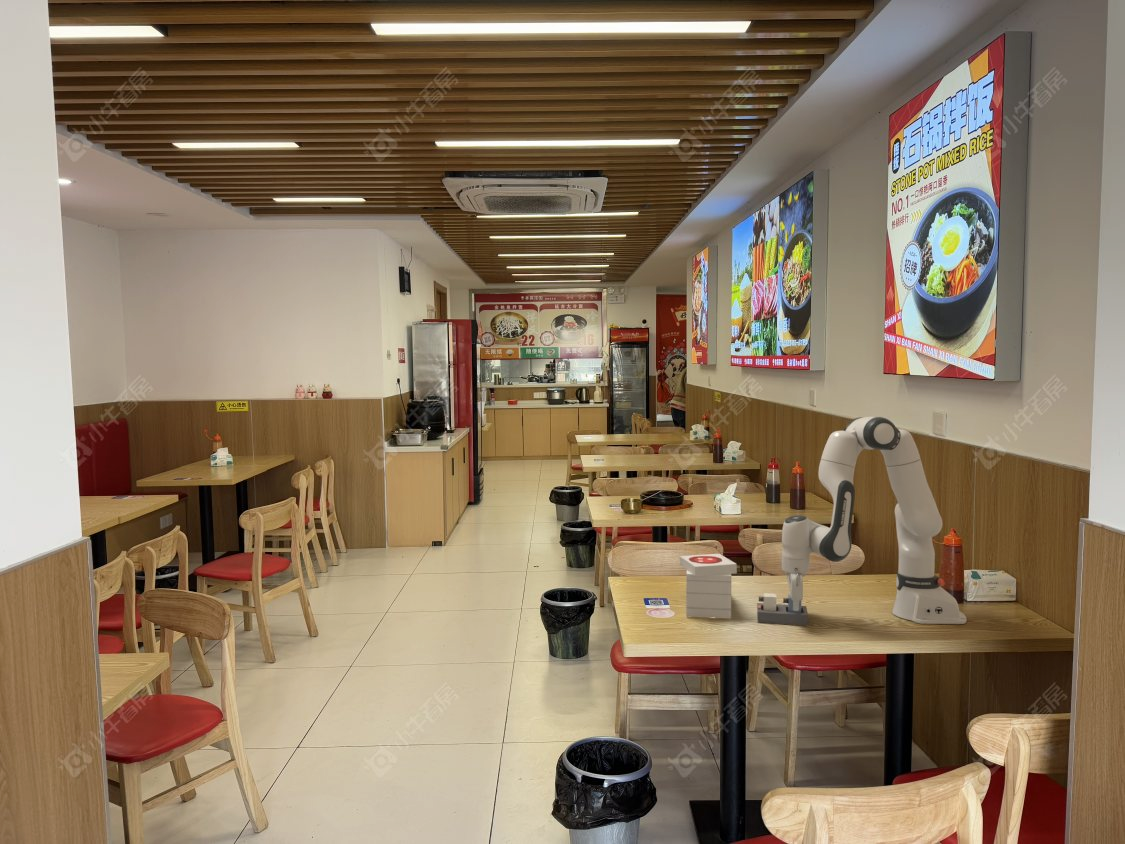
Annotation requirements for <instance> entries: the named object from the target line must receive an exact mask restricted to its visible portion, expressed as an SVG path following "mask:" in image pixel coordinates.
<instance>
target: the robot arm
mask: <svg viewBox="0 0 1125 844" xmlns="http://www.w3.org/2000/svg"><path fill="white" fill-rule="evenodd" d="M863 450H869V451H871V450H878V451H880V453H881V454H882V456H883V459H884V464H885V465H884V466H885V468H886V469H885V470H886V472H887V476H888V480H889V483H890V487H891V490H892V491H893V495H894V496H895V499H896V501H897V503H896V505H895V507H894V517H895V524H896V526H895V527H896V538H897V544H898V567H897V568H898V571H897V572H896V582H895V585H896V595H895V600H894V605H893V608H892V610H891V612H892V614H893V615H894V616H896V617H898V618H901V619H904V620H909V621H912V622H913V623H917V624H922V625H924V624H925V625H926V624H928V625H929V624H930V625H931V624H932V625H934V624H935V625H936V624H938V625H941V624H942V625H946V624H947V625H963V624H966V623H967V622H968V619H967V616H966V614H964V613H963V612H962V611H960V609H959V604H958V601H957V599H956V598H955V597H954V596H953V595H952V594H950V593H949V592H948V591H947V590H945V589H944V588H943V587H942V586H944V585H945V584H946V583H945V580H944V579H942V578H941V577H939V576H938V575H936V574H935V563H936V561H935V559H936V557H935V556H936V553H935V548H934V544H933V538H934V537H935V536H937V535H939V533H940V532H941V530H942V529H943V518H942V517H941V514H940V512H939V509H938V507H937V503H936V501H935V499H934V496H933V495H934V494H933V492H932V491H931V488H930V486H929V483H928V481H927V478H926V474H925V470H924V467H923V463H922V459H921V456H920V452H919V449H918V446H917V444H916V442H915V440H914V437H913V436H912V434H911V433H910V431H908V430H906V429H901V428H897V427H896V425H895V424H894V423H893V422H892V421H891V420H889V419H888V418H886V417H883V416H882V417H881V416H871V415H870V416H863V417H862V416H861V417H860V416H859V417H856V418H854V419H852V420H851V421H850V422H849V423H848V424H847V425H846V426H845V427H844V429H842V430H836V431H833V432H832V433H830V435H829V437H828V439H827V440H826V444H825V445H824V449H823V451H822V455H821V458H820V462H819V466H818V479H819V482H820V483H821V485H822V487H824V488H825V489H826V490H827V491H828V492H829V494H830V496H831V498H832V500H833V506H832V507H833V508H832V516H831V522H830V527H828V526H826V525H823V524H820V523H817V522H815V521H813V520H810V519H809V518H808V517H807V516H805V515H802V514H801V515H800V514H799V515H791V516H788V517H787V518H785V519H784V521H783V525H782V528H781V529H782V531H781V544H782V545H781V546H782V552H781V570H782V571H783V572H784V573H785V575H786V579H787V584H788V590H789V595H791V599H792V600H793V610H794V611H798V610H799V602H800V601H801V602H802V601H803V600H804V584H803V583H804V579H803V577H806V574H807V573H808V572H810V555H811V554H812V553H814V554H817V555H818V556H821V557H823V558H825V559H826V560H828V561H830V562H832V563H838V562H841V561H843V560H844V559H846V558H847V557H848V555H849V554H850V552H851V550H852V533H851V531H852V524H853V515H854V507H855V498H856V497H855V495H856V489H855V486H854V476H855V468H856V465H857V459H858V457H859V455H860V453H861V452H862V451H863Z"/></svg>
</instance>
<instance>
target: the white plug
mask: <svg viewBox="0 0 1125 844" xmlns="http://www.w3.org/2000/svg"><path fill="white" fill-rule="evenodd" d="M758 602H760V603H763V610H766V611H776V604H777V593H767V592H764V593H763V596H758Z"/></svg>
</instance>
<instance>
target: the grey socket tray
mask: <svg viewBox="0 0 1125 844" xmlns="http://www.w3.org/2000/svg"><path fill="white" fill-rule="evenodd" d="M756 616H757V619H756V620H757V623H763V624H775V625H788V624H789V625H790V626H803V625H808V626H809V613H808V608H807V605H801V613H797V612H788V604H778V603H776V611H766V610H763V602H758V603H757V604H756ZM791 624H792V625H791ZM794 624H795V625H794Z"/></svg>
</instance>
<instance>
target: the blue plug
mask: <svg viewBox="0 0 1125 844" xmlns="http://www.w3.org/2000/svg"><path fill="white" fill-rule="evenodd" d="M782 600H783V601H782V603H783V604H787V605H788V612H797V613H801V606H802V600H801V601H800V602H799V610H798V611H794V610H793V600H792V599H791V595H790V594H787V597H783V599H782Z"/></svg>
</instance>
